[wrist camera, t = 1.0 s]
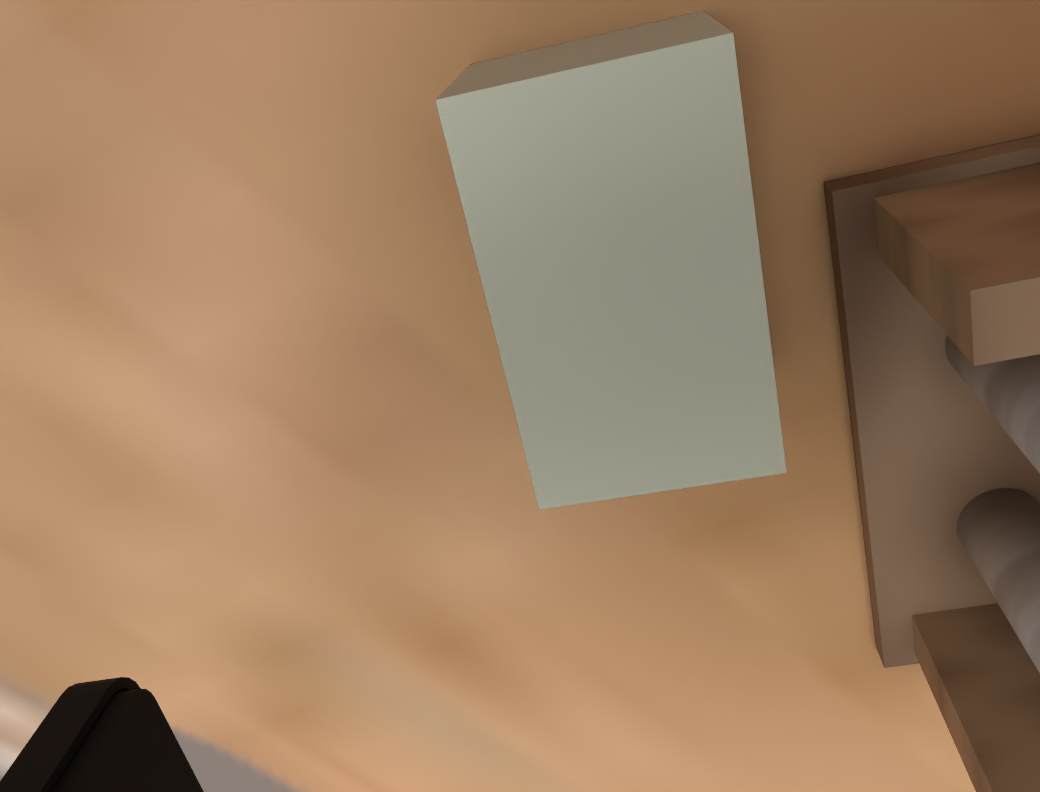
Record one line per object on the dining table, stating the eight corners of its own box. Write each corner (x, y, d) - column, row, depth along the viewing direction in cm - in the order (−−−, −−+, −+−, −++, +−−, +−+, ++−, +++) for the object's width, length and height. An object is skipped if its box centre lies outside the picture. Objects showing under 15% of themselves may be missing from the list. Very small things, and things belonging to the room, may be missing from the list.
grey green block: (702, 10, 24) (733, 32, 18) (750, 368, 28) (786, 472, 22) (471, 63, 25) (435, 100, 19) (550, 402, 29) (539, 509, 23)
